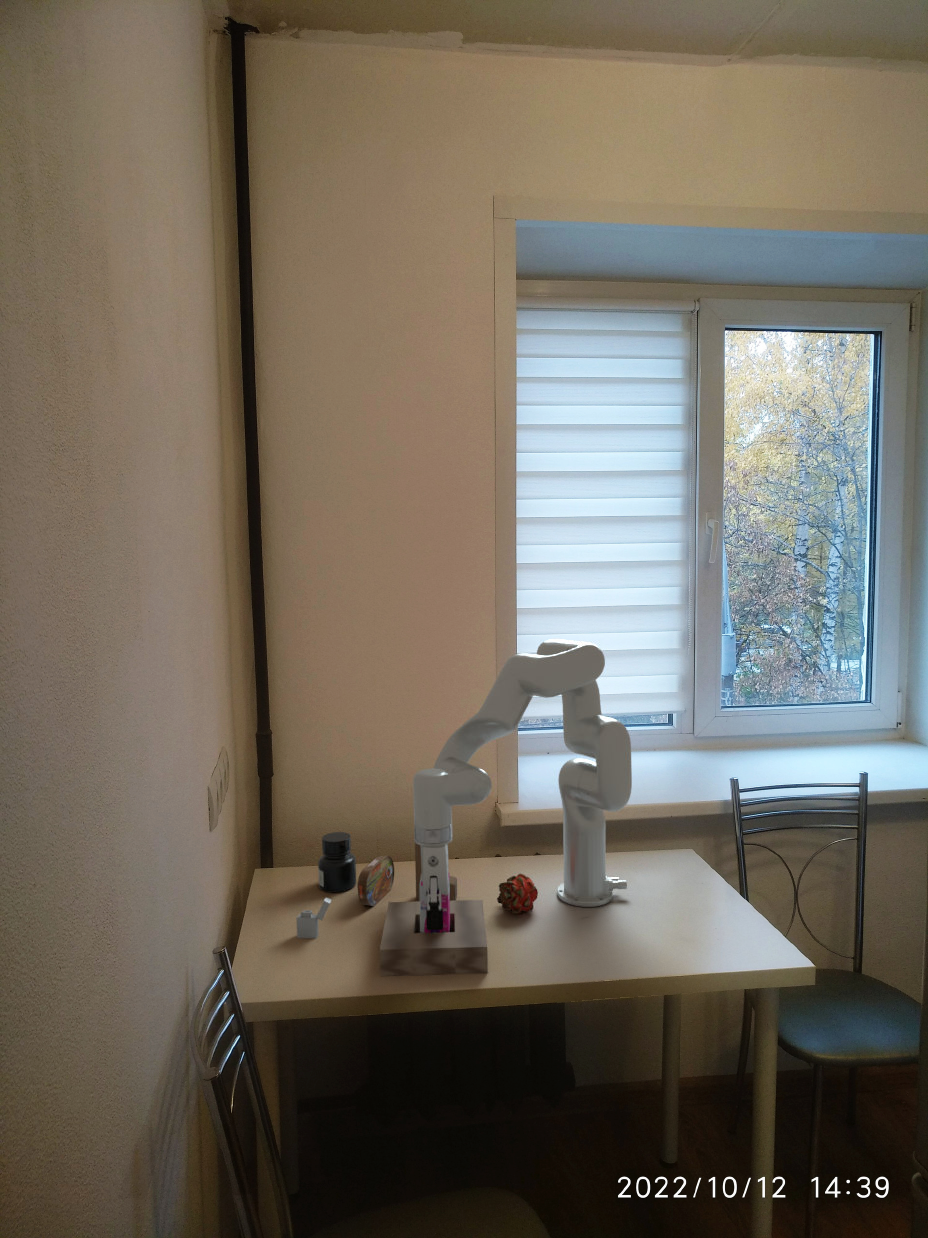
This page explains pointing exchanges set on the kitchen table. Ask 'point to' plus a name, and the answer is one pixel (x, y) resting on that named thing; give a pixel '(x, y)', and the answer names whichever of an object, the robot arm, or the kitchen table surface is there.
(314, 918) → the lighter
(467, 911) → the socket block
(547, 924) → the kitchen table surface
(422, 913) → the supplement box
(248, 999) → the kitchen table surface
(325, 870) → the ink bottle
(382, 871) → the tin
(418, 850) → the wooden block
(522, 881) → the dragon fruit
